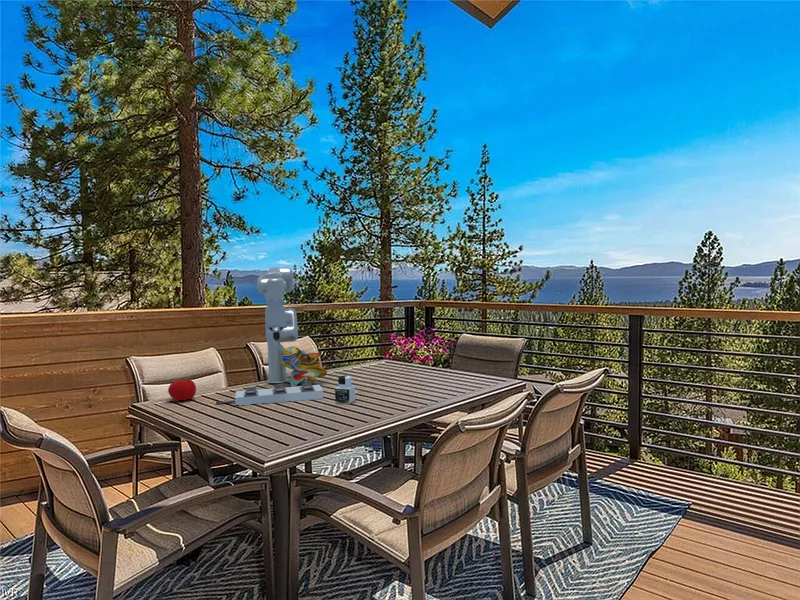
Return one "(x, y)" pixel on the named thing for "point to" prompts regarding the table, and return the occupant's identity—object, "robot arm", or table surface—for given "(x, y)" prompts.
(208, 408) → the table surface
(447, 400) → the table surface
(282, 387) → the rocker middle
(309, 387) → the rocker
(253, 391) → the rocker
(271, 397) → the rocker switch panel
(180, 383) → the tomato
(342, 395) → the medicine bottle
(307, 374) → the multicoloured irregular chunky piece
